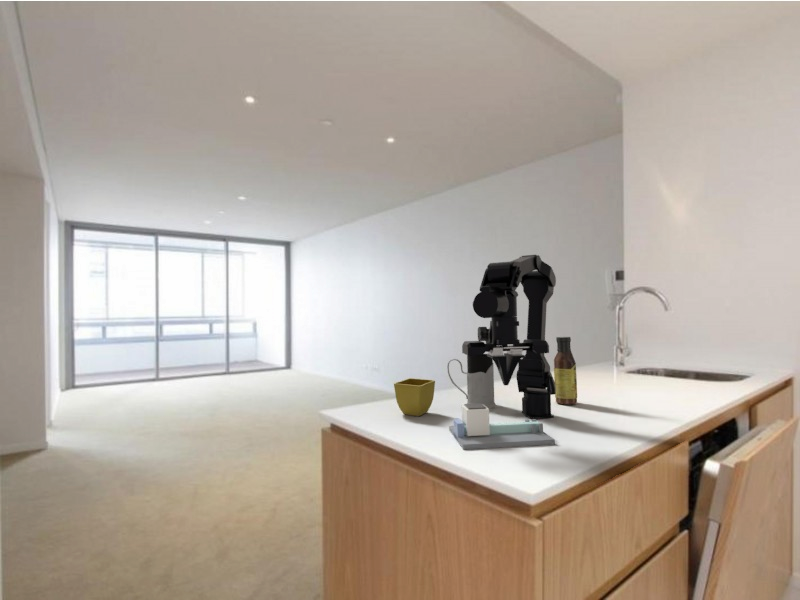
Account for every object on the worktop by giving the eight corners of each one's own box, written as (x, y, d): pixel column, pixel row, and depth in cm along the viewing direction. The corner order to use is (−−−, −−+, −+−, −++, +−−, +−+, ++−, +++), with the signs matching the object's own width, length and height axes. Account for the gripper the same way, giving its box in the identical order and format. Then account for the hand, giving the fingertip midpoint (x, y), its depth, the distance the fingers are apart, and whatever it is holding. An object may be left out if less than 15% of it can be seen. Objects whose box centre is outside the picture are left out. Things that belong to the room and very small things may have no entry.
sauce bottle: (580, 405, 125) (579, 337, 126) (559, 405, 125) (557, 337, 126) (572, 400, 132) (570, 335, 132) (551, 400, 132) (550, 336, 132)
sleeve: (483, 428, 100) (482, 402, 100) (489, 434, 95) (489, 407, 95) (462, 429, 100) (461, 403, 100) (467, 436, 95) (466, 408, 95)
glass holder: (495, 409, 123) (493, 357, 123) (445, 407, 127) (444, 356, 127) (496, 402, 131) (495, 353, 131) (450, 400, 135) (449, 353, 135)
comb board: (529, 425, 106) (528, 409, 106) (554, 444, 92) (554, 425, 92) (449, 430, 104) (448, 413, 104) (463, 449, 90) (462, 430, 90)
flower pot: (421, 419, 114) (420, 385, 114) (393, 415, 119) (393, 382, 119) (436, 412, 122) (435, 380, 122) (410, 408, 126) (409, 378, 126)
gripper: (529, 315, 107) (531, 377, 107) (456, 316, 106) (457, 380, 105) (549, 316, 96) (551, 386, 96) (467, 318, 94) (469, 389, 94)
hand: (505, 385), depth 98 cm, fingers closed
